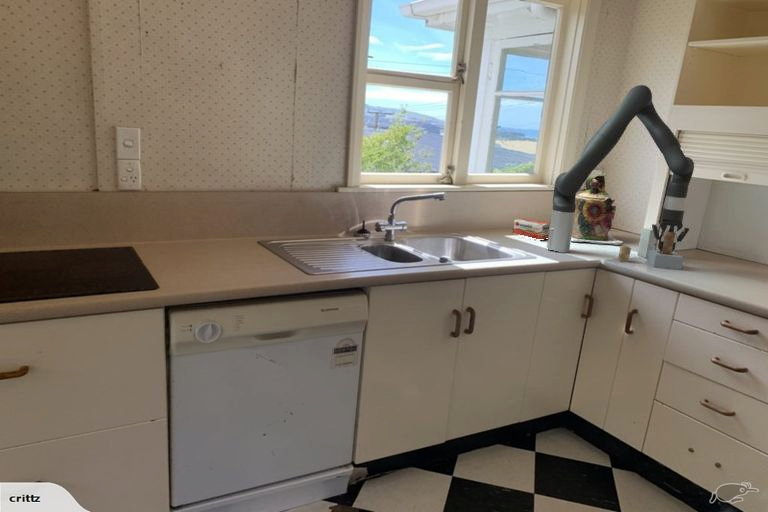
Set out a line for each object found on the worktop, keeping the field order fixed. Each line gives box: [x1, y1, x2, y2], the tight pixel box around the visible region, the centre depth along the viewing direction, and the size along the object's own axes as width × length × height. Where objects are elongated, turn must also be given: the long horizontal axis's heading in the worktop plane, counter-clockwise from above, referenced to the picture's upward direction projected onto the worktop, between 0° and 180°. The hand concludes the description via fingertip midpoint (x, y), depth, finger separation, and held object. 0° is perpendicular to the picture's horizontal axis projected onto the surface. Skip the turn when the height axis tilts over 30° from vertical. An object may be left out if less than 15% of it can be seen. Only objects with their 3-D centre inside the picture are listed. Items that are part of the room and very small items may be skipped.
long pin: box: [659, 232, 675, 255], centre depth 218 cm, size 3×3×12 cm
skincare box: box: [637, 227, 658, 259], centre depth 233 cm, size 6×4×12 cm
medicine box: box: [512, 218, 551, 239], centre depth 259 cm, size 15×8×8 cm, turn 47°
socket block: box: [646, 249, 684, 271], centre depth 220 cm, size 10×10×5 cm
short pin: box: [617, 244, 632, 263], centre depth 223 cm, size 3×3×6 cm
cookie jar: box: [571, 173, 624, 246], centre depth 261 cm, size 25×25×32 cm
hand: (665, 250), depth 219 cm, fingers closed on long pin, 3 cm apart
